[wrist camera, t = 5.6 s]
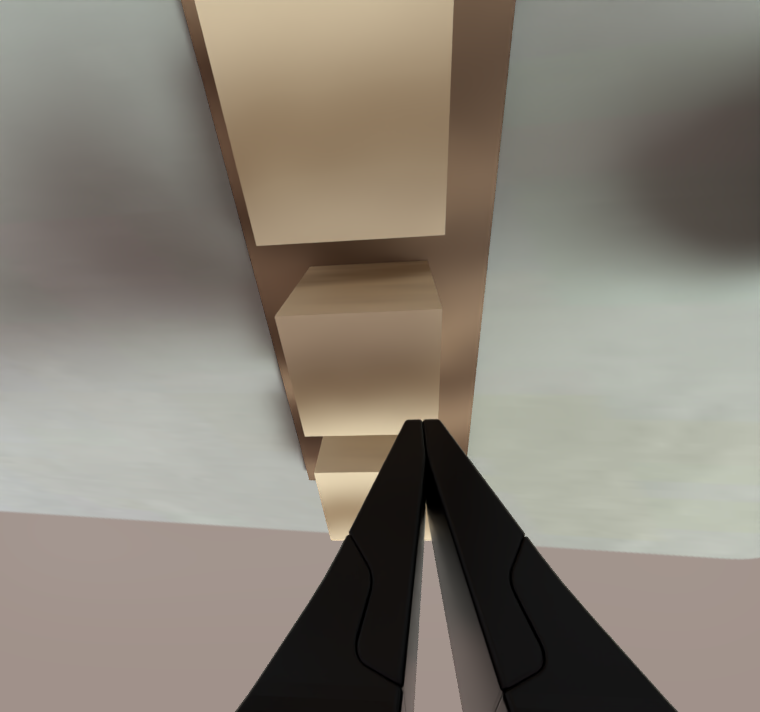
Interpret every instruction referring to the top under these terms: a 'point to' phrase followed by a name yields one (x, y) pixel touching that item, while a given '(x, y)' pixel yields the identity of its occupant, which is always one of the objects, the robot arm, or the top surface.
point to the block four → (350, 477)
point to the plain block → (363, 347)
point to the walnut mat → (444, 252)
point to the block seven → (335, 114)
